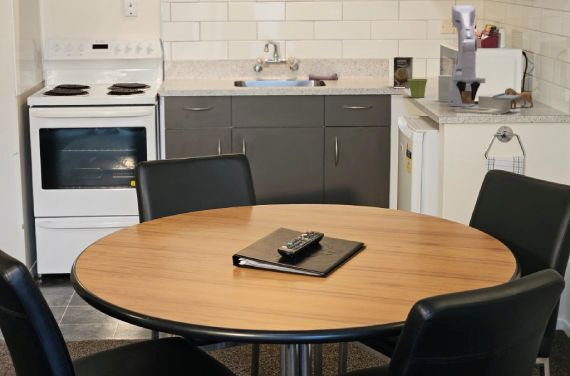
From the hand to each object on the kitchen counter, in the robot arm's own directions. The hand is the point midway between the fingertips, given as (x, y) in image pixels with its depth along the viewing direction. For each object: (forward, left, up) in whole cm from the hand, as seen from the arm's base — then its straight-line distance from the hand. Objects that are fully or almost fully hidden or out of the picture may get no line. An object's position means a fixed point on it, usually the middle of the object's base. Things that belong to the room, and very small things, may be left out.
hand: (468, 99), depth 408 cm
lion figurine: (+16, +17, -5) cm, 24 cm away
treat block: (0, 0, -1) cm, 1 cm away
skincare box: (-23, +27, -5) cm, 35 cm away
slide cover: (+17, 0, +1) cm, 17 cm away
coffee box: (-68, +71, -5) cm, 98 cm away
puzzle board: (+6, 0, -5) cm, 8 cm away
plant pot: (-42, +36, -5) cm, 55 cm away
